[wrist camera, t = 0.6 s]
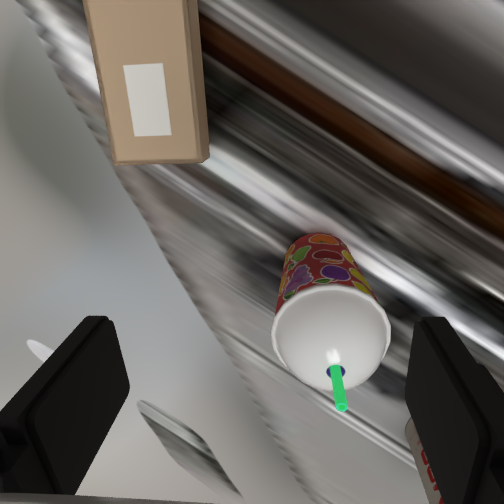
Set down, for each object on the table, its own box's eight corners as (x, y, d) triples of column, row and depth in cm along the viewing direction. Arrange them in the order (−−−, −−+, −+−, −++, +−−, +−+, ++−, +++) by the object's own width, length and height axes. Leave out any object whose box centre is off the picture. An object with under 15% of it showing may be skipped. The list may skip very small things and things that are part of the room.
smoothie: (312, 305, 40) (331, 478, 22) (261, 255, 38) (235, 399, 20) (373, 260, 37) (453, 416, 19) (320, 204, 36) (354, 316, 17)
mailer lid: (97, -23, 27) (74, -37, 24) (193, -31, 26) (181, -47, 23) (129, 159, 32) (113, 165, 29) (209, 157, 31) (201, 163, 28)
